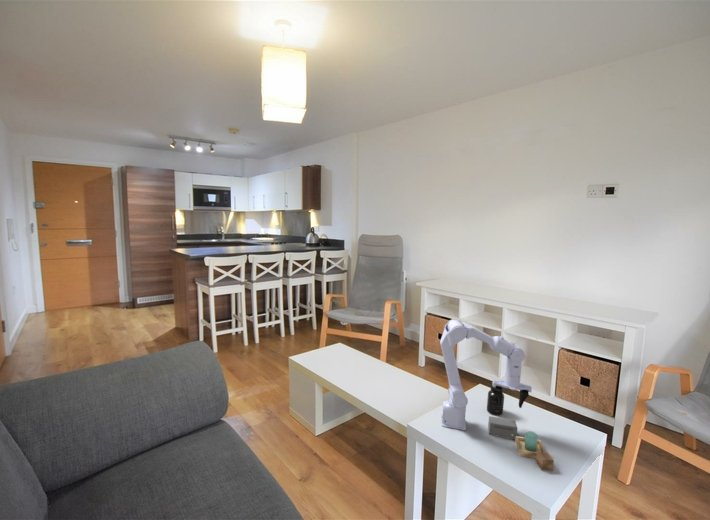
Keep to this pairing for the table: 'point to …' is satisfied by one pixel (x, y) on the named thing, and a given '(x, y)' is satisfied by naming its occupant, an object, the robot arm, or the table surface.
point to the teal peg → (531, 441)
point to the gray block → (502, 427)
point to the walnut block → (544, 461)
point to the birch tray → (523, 452)
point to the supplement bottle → (494, 402)
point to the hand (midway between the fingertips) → (509, 405)
